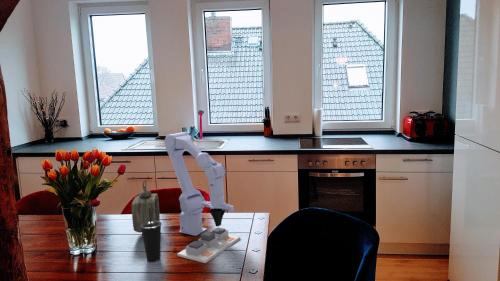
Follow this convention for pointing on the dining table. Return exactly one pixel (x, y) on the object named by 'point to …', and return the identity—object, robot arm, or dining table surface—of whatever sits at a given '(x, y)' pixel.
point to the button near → (196, 244)
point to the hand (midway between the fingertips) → (218, 225)
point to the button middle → (207, 236)
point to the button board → (209, 247)
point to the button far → (219, 230)
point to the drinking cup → (152, 238)
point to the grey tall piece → (144, 208)
